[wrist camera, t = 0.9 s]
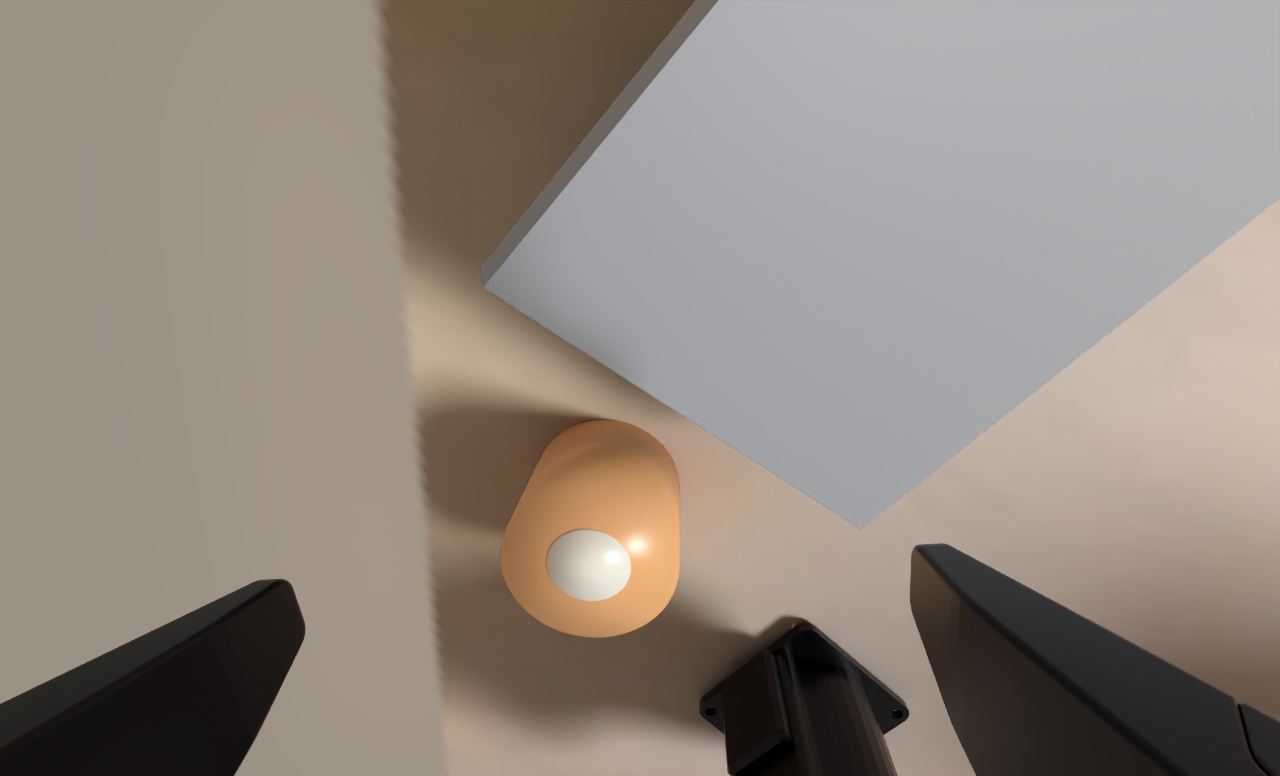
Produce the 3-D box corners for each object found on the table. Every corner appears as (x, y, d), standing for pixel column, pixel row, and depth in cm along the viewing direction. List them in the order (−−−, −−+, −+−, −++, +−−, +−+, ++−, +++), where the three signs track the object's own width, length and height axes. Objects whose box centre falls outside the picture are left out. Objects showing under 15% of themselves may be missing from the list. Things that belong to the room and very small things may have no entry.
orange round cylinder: (710, 484, 23) (717, 566, 19) (613, 572, 25) (597, 667, 20) (600, 390, 22) (578, 450, 17) (507, 487, 24) (463, 566, 19)
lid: (1349, 99, 13) (1393, 108, 13) (845, 508, 18) (860, 529, 17) (1304, -756, 6) (1399, -831, 6) (480, 266, 10) (483, 288, 10)
